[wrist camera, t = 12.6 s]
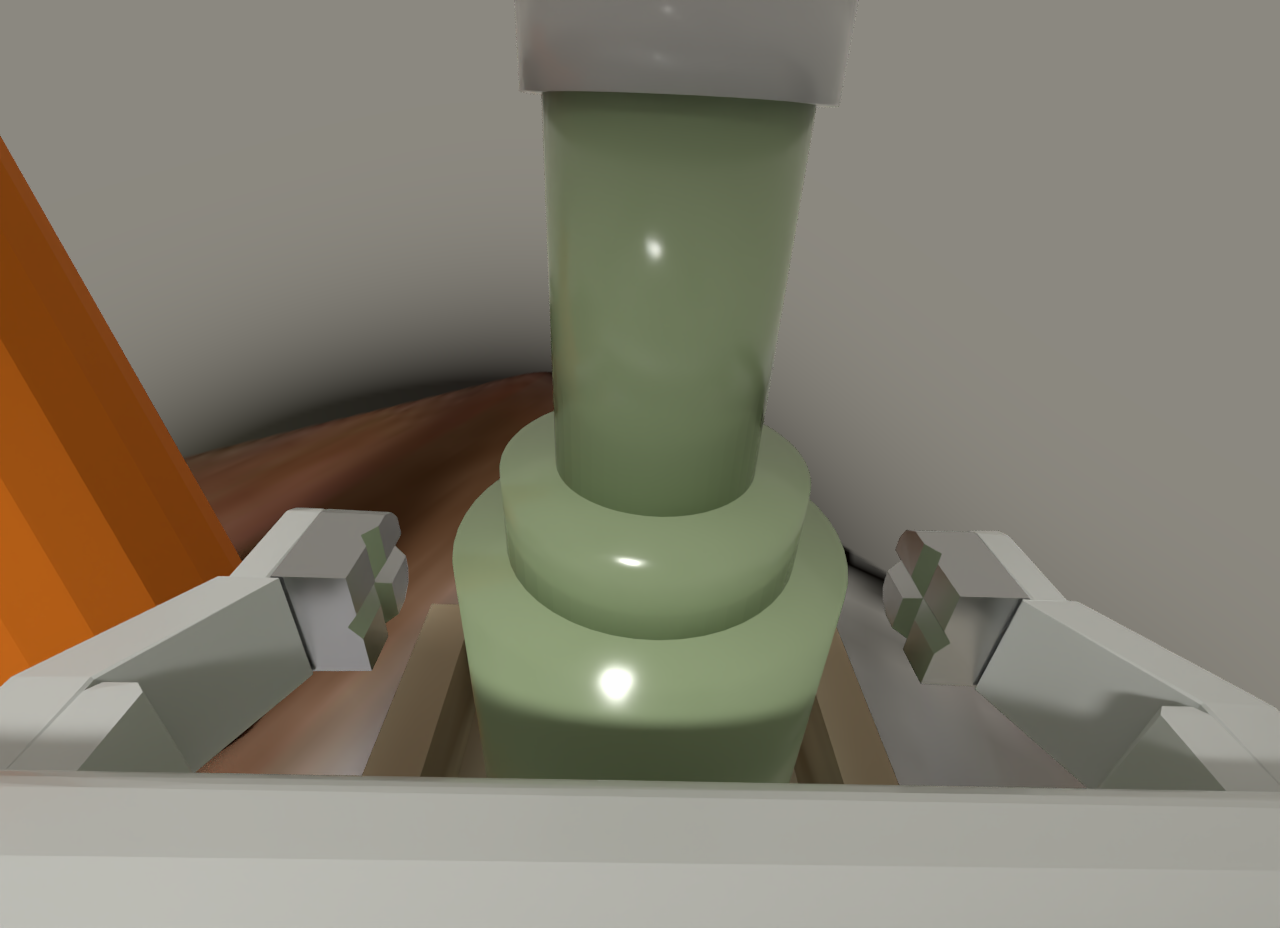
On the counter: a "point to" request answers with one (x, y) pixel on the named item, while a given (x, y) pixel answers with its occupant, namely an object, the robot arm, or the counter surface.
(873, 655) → the counter surface
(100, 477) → the spray bottle
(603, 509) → the bottle
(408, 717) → the u rest
